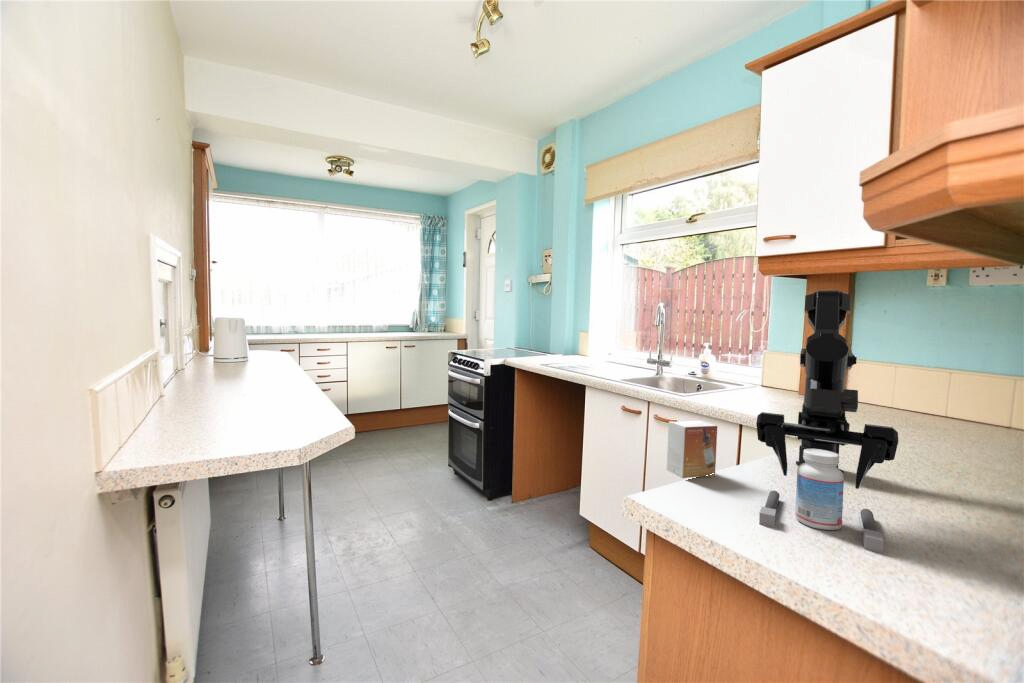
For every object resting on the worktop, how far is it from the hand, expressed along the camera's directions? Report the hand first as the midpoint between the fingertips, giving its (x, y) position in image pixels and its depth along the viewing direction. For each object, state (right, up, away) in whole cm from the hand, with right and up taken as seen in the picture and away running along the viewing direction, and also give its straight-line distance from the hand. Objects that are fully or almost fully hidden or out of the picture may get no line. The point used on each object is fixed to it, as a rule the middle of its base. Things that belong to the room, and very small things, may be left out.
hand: (819, 480), depth 70 cm
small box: (-10, -6, +24) cm, 27 cm away
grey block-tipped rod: (-4, -7, +5) cm, 10 cm away
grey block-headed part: (+6, -7, -2) cm, 10 cm away
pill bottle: (+1, -7, +1) cm, 7 cm away
